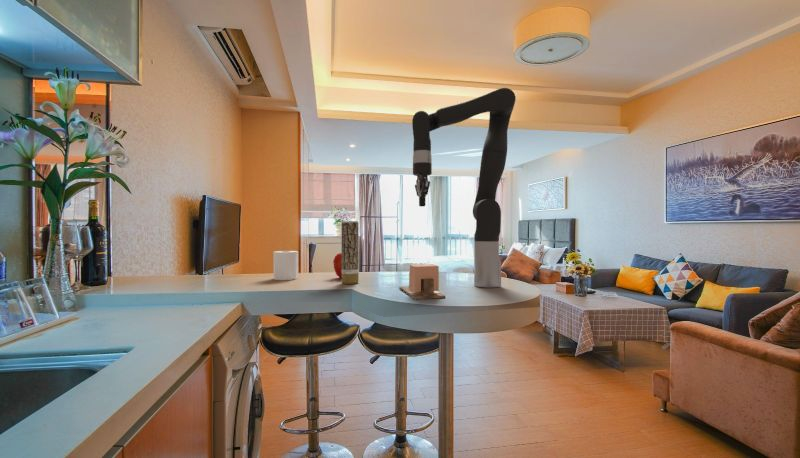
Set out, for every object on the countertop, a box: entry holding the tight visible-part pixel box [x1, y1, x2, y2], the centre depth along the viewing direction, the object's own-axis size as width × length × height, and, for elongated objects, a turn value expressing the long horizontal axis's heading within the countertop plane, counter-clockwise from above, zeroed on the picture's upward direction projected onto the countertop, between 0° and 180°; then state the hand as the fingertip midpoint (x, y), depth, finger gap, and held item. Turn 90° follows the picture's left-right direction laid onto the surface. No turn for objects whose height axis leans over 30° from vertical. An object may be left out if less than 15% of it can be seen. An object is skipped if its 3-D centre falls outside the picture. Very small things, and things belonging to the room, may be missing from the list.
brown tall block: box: [341, 220, 360, 285], centre depth 142 cm, size 7×7×25 cm
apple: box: [332, 252, 342, 279], centre depth 157 cm, size 9×9×12 cm
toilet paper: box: [272, 250, 299, 281], centre depth 155 cm, size 10×10×12 cm
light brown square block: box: [409, 263, 440, 292], centre depth 116 cm, size 8×6×8 cm
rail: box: [399, 272, 446, 300], centre depth 120 cm, size 10×20×6 cm, turn 14°
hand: (422, 206), depth 141 cm, fingers closed
